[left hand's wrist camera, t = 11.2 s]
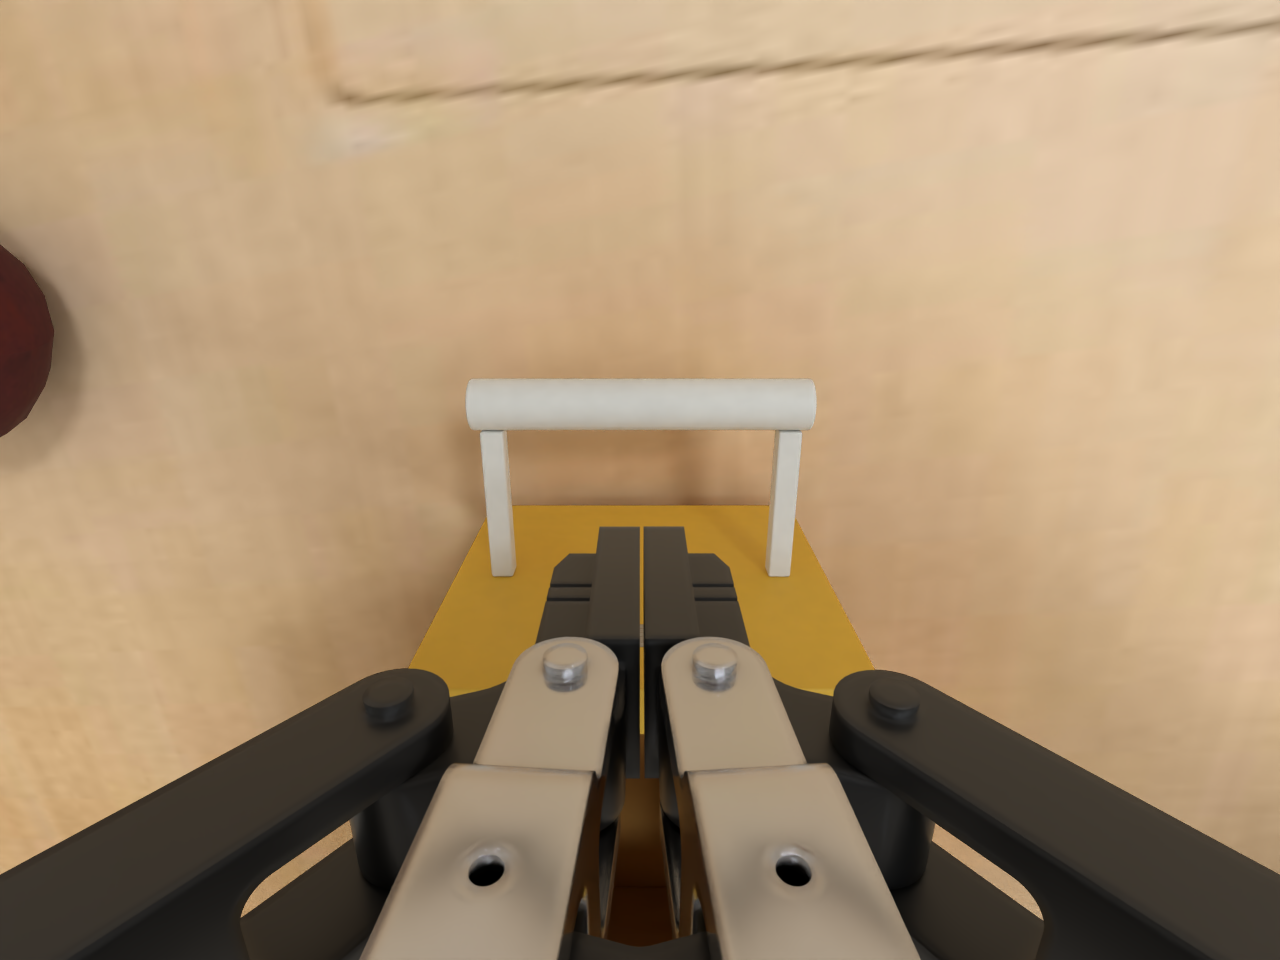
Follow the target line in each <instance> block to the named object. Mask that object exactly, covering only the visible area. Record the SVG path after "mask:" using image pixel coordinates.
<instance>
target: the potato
mask: <svg viewBox="0 0 1280 960" xmlns="http://www.w3.org/2000/svg"><path fill="white" fill-rule="evenodd" d="M53 337H54V329H53V325H52V322H51V318H50V314H49V311H48V307H47V303H46V300H45V296H44V294H43V293H42V291H41V290H40V288H39V287H38V285H37V284H36V282H35V281H34V279H33V278H32V276H31V275H30V273H29V272H28V270H27V268H26V267H25V265H24V264H23V263H22V262H20V261H19V260H18V259H17V258H16V257H14V256H13V255H12V254H11V253H10V252H8V251H7V250H6V249H5V248H4V247H2V246H1V245H0V437H1V436H3V435H5V434H7V433H8V432H9V431H11V430H12V429H13V428H14V427H16V426H17V425H18V424H19V423H21V422H22V421H23V420H24V419H26V418H27V416H28V414H29V413H30V411H31V409H32V407H33V406H34V404H35V402H36V401H37V399H38V397H39V395H40V394H41V392H42V390H43V389H44V387H45V384H46V381H47V378H48V374H49V371H50V366H51V357H52V347H53Z"/></svg>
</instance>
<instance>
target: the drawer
mask: <svg viewBox="0 0 1280 960" xmlns="http://www.w3.org/2000/svg"><path fill="white" fill-rule="evenodd" d="M465 404H466V416H467V421H468V424H469V426H470V428H471V429H472V430H482V431H481V432H480V443H481V454H482V466H483V477H484V489H485V500H486V512H487V517H486V519H485V521H484V523H483V525H482V527H481V529H480V531H479V532H478V534H477V536H476V538H475V540H474V542H473V544H472V546H471V548H470V550H469V552H468V554H467V556H466V558H465V559H464V561H463V563H462V565H461V567H460V569H459V571H458V573H457V575H456V577H455V579H454V581H453V583H452V585H451V586H450V588H449V590H448V592H447V594H446V596H445V598H444V600H443V602H442V604H441V606H440V608H439V610H438V612H437V613H436V615H435V617H434V619H433V621H432V623H431V625H430V627H429V629H428V631H427V633H426V635H425V637H424V639H423V640H422V642H421V644H420V646H419V648H418V650H417V652H416V654H415V656H414V658H413V660H412V662H411V664H410V665H409V667H408V668H410V669H421V670H426V671H429V672H432V673H434V674H436V675H438V676H439V677H441V678H442V679H443V680H444V681H445V683H446V684H447V686H448V689H449V695H450V697H453V696H457V695H462V694H466V693H471V692H476V691H480V690H484V689H488V688H491V687H493V686H496V685H499V684H501V683H503V682H505V681H507V679H508V676H509V674H510V671H511V669H512V666H513V664H514V662H515V661H516V659H517V658H518V657H519V655H520V654H521V653H523V652H524V651H525V650H526V649H528V648H529V647H531V646H533V645H535V642H536V638H537V634H538V630H539V626H540V622H541V618H542V614H543V610H544V606H545V602H546V601H547V594H548V590H549V587H550V582H551V578H552V574H553V570H554V567H555V566H556V565H557V564H558V563H560V562H561V561H562V560H563V559H564V558H565V557H566V556H567V555H568V554H569V553H596V549H597V542H598V534H599V527H640V779H626V785H625V802H624V806H623V808H622V811H621V812H620V813H621V830H620V838H619V847H618V855H617V863H616V871H615V879H614V888H613V896H612V904H611V912H610V920H609V929H608V937H607V940H610V941H614V942H618V943H621V944H625V945H629V946H635V947H645V946H651V945H655V944H659V943H662V942H666V941H670V940H673V937H672V929H671V920H670V912H669V904H668V896H667V888H666V879H665V871H664V863H663V855H662V847H661V838H660V830H659V813H660V792H659V778H645V769H644V648H643V537H644V526H684V530H685V537H686V543H687V550H688V553H714V554H715V555H717V556H718V557H719V558H720V559H721V560H722V561H723V562H724V563H725V564H726V565H728V566H729V567H730V571H731V575H732V578H733V582H734V587H735V590H736V594H737V601H738V602H739V606H740V609H741V613H742V617H743V621H744V625H745V629H746V633H747V637H748V640H749V644H750V647H751V648H752V649H754V650H755V651H756V652H757V653H759V654H760V655H761V657H762V658H763V659H764V661H765V662H766V664H767V666H768V669H769V671H770V674H771V676H772V677H773V678H775V679H776V680H778V681H780V682H782V683H784V684H787V685H789V686H792V687H795V688H798V689H802V690H806V691H811V692H815V693H820V694H824V695H829V696H833V693H834V689H835V686H836V685H837V684H838V682H839V681H840V680H841V679H843V678H844V677H845V676H847V675H849V674H852V673H855V672H858V671H864V670H875V669H874V667H873V665H872V663H871V661H870V659H869V657H868V656H867V654H866V652H865V650H864V648H863V646H862V644H861V642H860V640H859V638H858V636H857V635H856V633H855V631H854V629H853V627H852V625H851V623H850V621H849V619H848V617H847V615H846V614H845V612H844V610H843V608H842V606H841V604H840V602H839V600H838V598H837V596H836V594H835V593H834V591H833V589H832V587H831V585H830V583H829V581H828V579H827V577H826V575H825V573H824V572H823V570H822V568H821V566H820V564H819V562H818V560H817V558H816V556H815V554H814V552H813V551H812V549H811V547H810V545H809V543H808V541H807V539H806V537H805V535H804V533H803V531H802V530H801V528H800V526H799V524H798V522H797V520H796V518H795V511H796V500H797V489H798V477H799V466H800V454H801V443H802V432H801V431H800V430H810V429H811V428H812V426H813V424H814V420H815V415H816V389H815V385H814V382H813V380H812V379H470V380H469V382H468V385H467V389H466V400H465ZM507 430H775V438H774V452H773V465H772V479H771V493H770V505H660V506H512V497H511V484H510V470H509V456H508V442H507Z"/></svg>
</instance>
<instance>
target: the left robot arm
mask: <svg viewBox="0 0 1280 960" xmlns="http://www.w3.org/2000/svg"><path fill="white" fill-rule="evenodd" d="M643 648H644V769H645V778H659V792H660V813H659V830H660V838H661V847H662V855H663V863H664V871H665V879H666V888H667V896H668V904H669V912H670V920H671V929H672V937H673V940H670V941H666V942H662V943H659V944H655V945H651V946H645V947H635V946H629V945H625V944H621V943H618V942H614V941H610V940H607V937H608V929H609V920H610V912H611V904H612V896H613V888H614V879H615V871H616V863H617V855H618V847H619V838H620V830H621V813H620V812H621V811H622V808H623V806H624V802H625V785H626V779H640V527H599V534H598V542H597V549H596V553H569V554H568V555H567V556H566V557H565V558H564V559H563V560H562V561H561V562H560V563H558V564H557V565H556V566H555V567H554V570H553V574H552V578H551V582H550V587H549V590H548V594H547V601H546V602H545V606H544V610H543V614H542V618H541V622H540V626H539V630H538V634H537V638H536V642H535V645H533V646H531V647H529V648H528V649H526V650H525V651H524V652H523V653H521V654H520V655H519V657H518V658H517V659H516V661H515V662H514V664H513V666H512V669H511V671H510V674H509V676H508V679H507V681H505V682H503V683H501V684H499V685H496V686H493V687H491V688H488V689H484V690H480V691H476V692H471V693H466V694H462V695H457V696H453V697H450V695H449V689H448V686H447V684H446V683H445V681H444V680H443V679H442V678H441V677H439V676H438V675H436V674H434V673H432V672H429V671H426V670H421V669H410V668H405V669H394V670H388V671H384V672H380V673H377V674H374V675H371V676H369V677H366V678H364V679H362V680H360V681H358V682H356V683H354V684H352V685H351V686H349V687H347V688H345V689H343V690H341V691H339V692H338V693H336V694H334V695H332V696H330V697H328V698H326V699H325V700H323V701H321V702H319V703H317V704H315V705H314V706H312V707H310V708H308V709H306V710H304V711H302V712H301V713H299V714H297V715H295V716H293V717H291V718H289V719H288V720H286V721H284V722H282V723H280V724H278V725H277V726H275V727H273V728H271V729H269V730H267V731H265V732H264V733H262V734H260V735H258V736H256V737H254V738H252V739H251V740H249V741H247V742H245V743H243V744H241V745H240V746H238V747H236V748H234V749H232V750H230V751H228V752H227V753H225V754H223V755H221V756H219V757H217V758H215V759H214V760H212V761H210V762H208V763H206V764H204V765H203V766H201V767H199V768H197V769H195V770H193V771H191V772H190V773H188V774H186V775H184V776H182V777H180V778H178V779H177V780H175V781H173V782H171V783H169V784H167V785H165V786H164V787H162V788H160V789H158V790H156V791H154V792H153V793H151V794H149V795H147V796H145V797H143V798H141V799H140V800H138V801H136V802H134V803H132V804H130V805H128V806H127V807H125V808H123V809H121V810H119V811H117V812H116V813H114V814H112V815H110V816H108V817H106V818H104V819H103V820H101V821H99V822H97V823H95V824H93V825H91V826H90V827H88V828H86V829H84V830H82V831H80V832H79V833H77V834H75V835H73V836H71V837H69V838H67V839H66V840H64V841H62V842H60V843H58V844H56V845H54V846H53V847H51V848H49V849H47V850H45V851H43V852H42V853H40V854H38V855H36V856H34V857H32V858H30V859H29V860H27V861H25V862H23V863H21V864H19V865H17V866H16V867H14V868H12V869H10V870H8V871H6V872H5V873H3V874H1V875H0V960H1280V875H1279V874H1277V873H1276V872H1274V871H1272V870H1270V869H1268V868H1266V867H1264V866H1263V865H1261V864H1259V863H1257V862H1255V861H1253V860H1251V859H1250V858H1248V857H1246V856H1244V855H1242V854H1240V853H1239V852H1237V851H1235V850H1233V849H1231V848H1229V847H1227V846H1226V845H1224V844H1222V843H1220V842H1218V841H1216V840H1214V839H1213V838H1211V837H1209V836H1207V835H1205V834H1203V833H1201V832H1200V831H1198V830H1196V829H1194V828H1192V827H1190V826H1189V825H1187V824H1185V823H1183V822H1181V821H1179V820H1177V819H1176V818H1174V817H1172V816H1170V815H1168V814H1166V813H1164V812H1163V811H1161V810H1159V809H1157V808H1155V807H1153V806H1152V805H1150V804H1148V803H1146V802H1144V801H1142V800H1140V799H1139V798H1137V797H1135V796H1133V795H1131V794H1129V793H1127V792H1126V791H1124V790H1122V789H1120V788H1118V787H1116V786H1115V785H1113V784H1111V783H1109V782H1107V781H1105V780H1103V779H1102V778H1100V777H1098V776H1096V775H1094V774H1092V773H1090V772H1089V771H1087V770H1085V769H1083V768H1081V767H1079V766H1078V765H1076V764H1074V763H1072V762H1070V761H1068V760H1066V759H1065V758H1063V757H1061V756H1059V755H1057V754H1055V753H1053V752H1052V751H1050V750H1048V749H1046V748H1044V747H1042V746H1041V745H1039V744H1037V743H1035V742H1033V741H1031V740H1029V739H1028V738H1026V737H1024V736H1022V735H1020V734H1018V733H1016V732H1015V731H1013V730H1011V729H1009V728H1007V727H1005V726H1003V725H1002V724H1000V723H998V722H996V721H994V720H992V719H991V718H989V717H987V716H985V715H983V714H981V713H979V712H978V711H976V710H974V709H972V708H970V707H968V706H966V705H965V704H963V703H961V702H959V701H957V700H955V699H954V698H952V697H950V696H948V695H946V694H944V693H942V692H941V691H939V690H937V689H935V688H933V687H931V686H929V685H928V684H926V683H924V682H922V681H920V680H918V679H916V678H913V677H910V676H907V675H904V674H901V673H897V672H892V671H886V670H864V671H858V672H855V673H852V674H849V675H847V676H845V677H844V678H843V679H841V680H840V681H839V682H838V684H837V685H836V686H835V689H834V693H833V696H829V695H824V694H820V693H815V692H811V691H806V690H802V689H798V688H795V687H792V686H789V685H787V684H784V683H782V682H780V681H778V680H776V679H775V678H773V677H772V676H771V674H770V671H769V669H768V666H767V664H766V662H765V661H764V659H763V658H762V657H761V655H760V654H759V653H757V652H756V651H755V650H754V649H752V648H751V647H750V644H749V640H748V637H747V633H746V629H745V625H744V621H743V617H742V613H741V609H740V606H739V602H738V601H737V594H736V590H735V587H734V582H733V578H732V575H731V571H730V567H729V566H728V565H726V564H725V563H724V562H723V561H722V560H721V559H720V558H719V557H718V556H717V555H715V554H714V553H688V550H687V543H686V537H685V530H684V526H644V537H643ZM348 820H350V825H351V830H352V835H353V838H352V839H350V840H349V841H347V842H346V843H345V844H343V845H342V846H341V847H339V848H338V849H336V850H335V851H334V852H332V853H331V854H329V855H328V856H327V857H325V858H324V859H322V860H321V861H320V862H318V863H317V864H315V865H314V866H313V867H311V868H310V869H309V870H307V871H306V872H304V873H303V874H302V875H300V876H299V877H297V878H296V879H295V880H293V881H292V882H290V883H289V884H288V885H286V886H285V887H283V888H282V889H281V890H279V891H278V892H277V893H275V894H274V895H272V896H271V897H270V898H268V899H267V900H265V901H264V902H263V903H261V904H260V905H258V906H257V907H256V908H254V909H253V910H252V911H250V912H249V913H247V914H246V915H245V916H243V917H241V913H242V910H243V908H244V905H245V903H246V902H247V900H248V898H249V897H250V895H251V894H252V892H253V891H254V890H255V889H256V888H257V886H258V885H259V884H260V883H261V882H262V881H263V880H265V879H266V878H267V877H268V876H269V875H271V874H272V873H274V872H275V871H276V870H278V869H279V868H281V867H282V866H284V865H285V864H286V863H288V862H289V861H291V860H292V859H294V858H295V857H297V856H298V855H299V854H301V853H302V852H304V851H305V850H307V849H308V848H309V847H311V846H312V845H314V844H315V843H317V842H318V841H320V840H321V839H322V838H324V837H325V836H327V835H328V834H330V833H331V832H332V831H334V830H335V829H337V828H338V827H340V826H341V825H343V824H344V823H345V822H347V821H348ZM935 823H936V824H937V825H939V826H940V827H942V828H943V829H945V830H946V831H948V832H949V833H950V834H952V835H953V836H955V837H956V838H958V839H959V840H960V841H962V842H963V843H965V844H966V845H968V846H969V847H971V848H972V849H973V850H975V851H976V852H978V853H979V854H981V855H982V856H984V857H985V858H986V859H988V860H989V861H991V862H992V863H994V864H995V865H996V866H998V867H999V868H1001V869H1002V870H1004V871H1005V872H1007V873H1008V874H1009V875H1011V876H1012V877H1014V878H1015V879H1016V880H1017V881H1019V882H1020V883H1021V884H1022V885H1023V886H1024V887H1025V888H1026V889H1027V890H1028V891H1029V893H1030V894H1031V895H1032V897H1033V898H1034V899H1035V901H1036V902H1037V904H1038V906H1039V908H1040V910H1041V913H1042V916H1043V919H1044V921H1043V920H1041V919H1040V918H1038V917H1037V916H1035V915H1034V914H1033V913H1031V912H1030V911H1029V910H1027V909H1026V908H1024V907H1023V906H1022V905H1020V904H1019V903H1017V902H1016V901H1015V900H1013V899H1012V898H1010V897H1009V896H1008V895H1006V894H1005V893H1003V892H1002V891H1001V890H999V889H998V888H997V887H995V886H994V885H992V884H991V883H990V882H988V881H987V880H985V879H984V878H983V877H981V876H980V875H978V874H977V873H976V872H974V871H973V870H971V869H970V868H969V867H967V866H966V865H965V864H963V863H962V862H960V861H959V860H958V859H956V858H955V857H953V856H952V855H951V854H949V853H948V852H946V851H945V850H944V849H942V848H941V847H939V846H938V845H937V844H935V843H934V842H933V841H932V837H933V832H934V827H935ZM240 917H241V918H240Z"/></svg>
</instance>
